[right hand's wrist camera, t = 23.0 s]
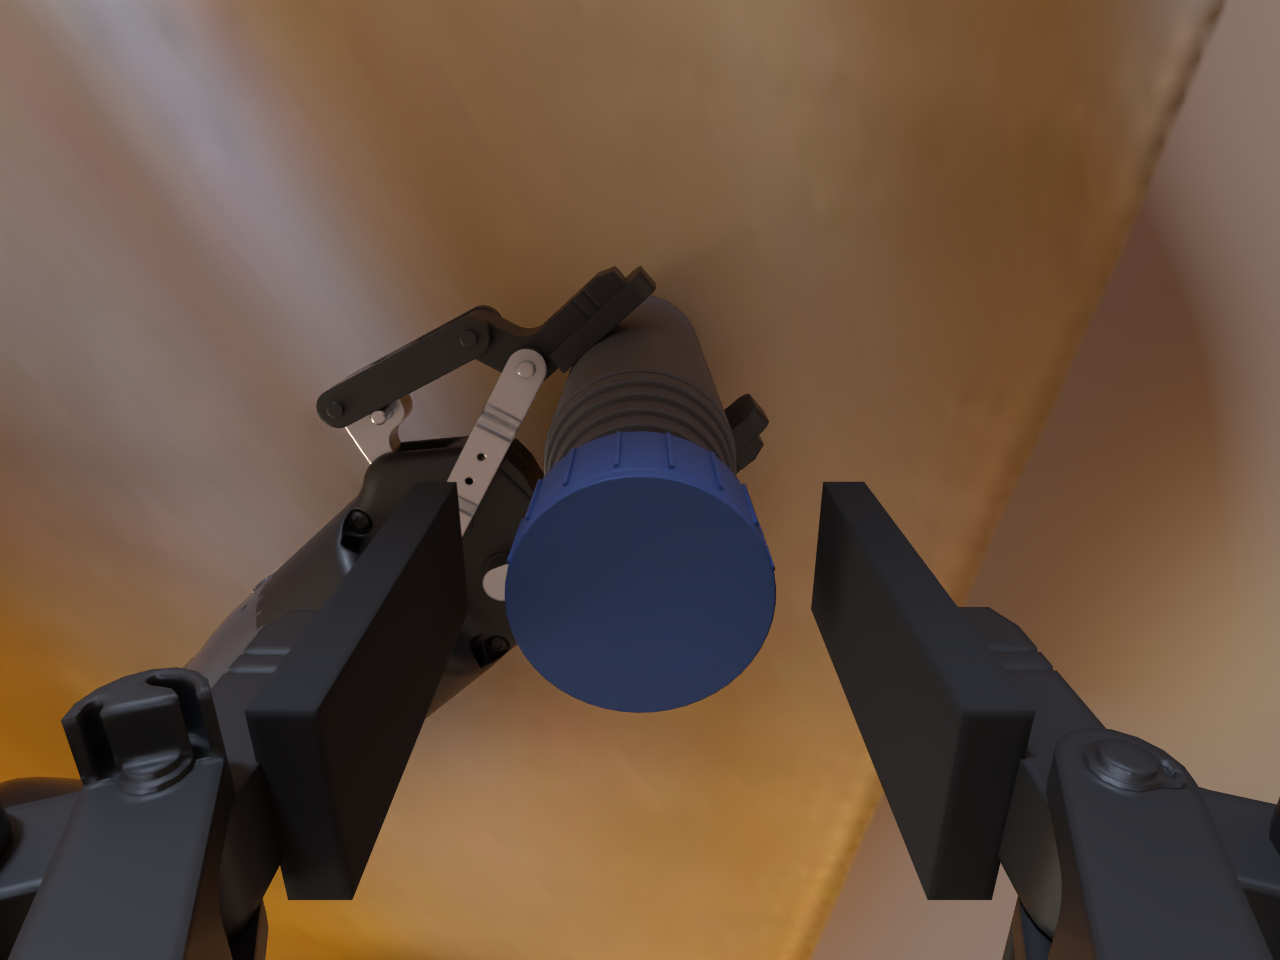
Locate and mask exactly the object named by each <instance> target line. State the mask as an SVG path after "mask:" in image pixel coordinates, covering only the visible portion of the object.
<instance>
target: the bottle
mask: <svg viewBox="0 0 1280 960" xmlns="http://www.w3.org/2000/svg"><path fill="white" fill-rule="evenodd" d="M618 431H621V433H623V432H636V431H647V432H658V433H664V434H666V432H668V433H671V435H673V436H677V437H679V438H682V439H685V440H688V441H691V442H693V443H694V444H696V445H698V446H700V447H702V448H704V449H706V450H707V451H709V452H711V451H713V452H714V453H715V456H716V457H717V458H718V459H720V460H721V461H722V462H723V463H724V464H725V465H726V466H727V467H728V468H729V469H730V470H731V471H732V472H733V474H734V475H735V476H736V448H735V441H734V437H733V434H732V430H731V427H730V425H729V422H728V419H727V417H726V414H725V411H724V409H723V406H722V403H721V401H720V398H719V395H718V392H717V390H716V387H715V384H714V382H713V379H712V376H711V374H710V371H709V368H708V366H707V363H706V360H705V357H704V355H703V352H702V349H701V347H700V344H699V341H698V339H697V336H696V333H695V331H694V329H693V327H692V325H691V323H690V322H689V320H688V319H687V318H686V316H685V315H684V314H683V313H682V312H681V311H680V310H679V309H678V308H676V307H675V306H674V305H672V304H671V303H669V302H667V301H665V300H663V299H660V298H657V297H653V296H649V297H648V298H647V299H646V300H645V301H644V302H642V303H641V304H640V305H639V306H638V307H637V308H636V309H635V310H634V311H632V312H631V313H630V314H629V315H628V316H627V317H626V318H625V319H624V320H622V321H621V322H620V323H619V324H618V325H617V326H616V327H615V328H613V329H612V330H611V331H610V332H609V333H608V334H607V335H606V336H605V337H603V338H602V339H601V340H600V341H599V342H598V343H597V344H596V345H595V346H593V347H592V348H591V349H589V350H588V351H587V352H586V353H585V354H584V355H583V356H582V357H581V358H580V359H579V360H578V361H577V362H576V363H575V364H573V365H572V368H571V370H570V373H569V376H568V379H567V381H566V384H565V387H564V389H563V392H562V395H561V398H560V400H559V403H558V406H557V409H556V411H555V414H554V417H553V419H552V422H551V425H550V428H549V431H548V434H547V437H546V442H545V448H544V477H545V475H546V474H547V473H548V472H549V471H550V469H551V468H552V467H553V466H554V465H555V464H556V463H557V462H558V461H560V460H561V459H562V458H563V457H565V456H566V455H567V454H568V453H570V452H571V449H572V448H574V447H575V448H576V449H577V448H578V447H580V446H582V445H584V444H586V443H588V442H590V441H593V440H595V439H598V438H601V437H605V436H608V435H611V434H616V432H618Z"/></svg>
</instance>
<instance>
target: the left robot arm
mask: <svg viewBox="0 0 1280 960" xmlns="http://www.w3.org/2000/svg"><path fill="white" fill-rule="evenodd" d="M655 289H656V284H655V282H654V281H653V279H652V278H651V277H650V276H649V275H648V274H647V272H646V271H645V270H644V269H643V268H642V267H641V266H639V267H638V268H636V269H635V270H634V271H633V272H632V273H630V274H629V275H628V276H627V277H626V278H625V277H624V275H623V274H622V273H621V272H620V271H619V270H618V268H617V267H616V266H615V267H612V268H609V269H606V270H604V271H601V272H599V273H598V274H597V275H596V276H595V277H593V278H592V279H591V280H590V281H589V282H588V283H587V284H586V285H585V286H584V287H583V288H582V289H581V290H579V291H578V292H577V293H576V294H575V295H574V296H573V297H572V298H571V299H570V300H569V301H568V302H567V303H565V304H564V305H563V306H562V307H561V308H560V309H559V310H558V311H557V312H556V313H555V314H554V315H553V316H551V317H550V318H549V319H548V320H547V321H546V322H545V323H544V324H542V325H541V326H539V327H536V328H522V327H519V326H517V325H515V324H513V323H511V322H509V321H507V320H506V319H504V318H502V317H501V315H500V314H499V312H498V311H497V310H495V309H494V308H492V307H490V306H486V305H481V306H477V307H475V308H473V309H471V310H469V311H467V312H465V313H464V314H462V315H460V316H458V317H456V318H454V319H453V320H451V321H449V322H447V323H445V324H443V325H441V326H440V327H438V328H436V329H434V330H432V331H430V332H429V333H427V334H425V335H423V336H421V337H419V338H417V339H416V340H414V341H412V342H410V343H408V344H406V345H404V346H403V347H401V348H399V349H397V350H395V351H393V352H392V353H390V354H388V355H386V356H384V357H382V358H380V359H379V360H377V361H375V362H373V363H371V364H369V365H368V366H366V367H364V368H362V369H360V370H358V371H356V372H355V373H353V374H351V375H350V376H348V377H347V378H345V379H344V380H342V381H341V382H339V383H338V384H336V385H335V386H333V387H332V388H330V389H329V390H327V391H326V392H324V393H323V394H322V395H321V396H320V397H319V398H318V401H317V412H318V415H319V417H320V418H321V419H322V420H323V422H325V423H326V424H327V425H329V426H331V427H335V428H343V427H345V428H346V430H347V431H348V432H349V434H350V435H351V437H352V438H353V440H354V441H355V443H356V444H357V446H358V447H359V449H360V450H361V451H362V453H363V454H364V456H365V457H366V459H367V460H368V462H369V463H370V466H369V467H368V469H367V471H366V473H365V477H364V482H363V486H362V489H361V491H360V493H359V495H358V496H357V497H356V498H355V499H354V500H353V501H352V502H351V503H349V504H348V505H347V506H346V507H345V508H344V509H343V510H342V511H341V512H340V513H339V514H338V515H337V516H335V517H334V518H333V519H332V520H331V521H330V522H329V523H328V524H327V525H326V526H325V527H324V528H323V529H321V530H320V531H319V532H318V533H317V534H316V535H315V536H314V537H313V538H312V539H311V540H310V541H309V542H307V543H306V544H305V545H304V546H303V547H302V548H301V549H300V550H299V551H298V552H297V553H296V554H295V555H293V556H292V557H291V558H290V559H289V560H288V561H287V562H286V563H285V564H284V565H283V566H282V567H281V568H280V569H279V570H278V571H276V572H275V573H274V574H272V575H270V576H269V577H267V578H266V579H264V580H263V581H262V582H260V583H259V584H258V585H257V586H256V587H255V588H254V589H253V591H252V593H251V595H250V596H249V597H248V598H247V599H246V600H245V601H244V602H243V603H242V604H241V605H239V606H238V607H237V608H236V609H235V610H234V611H233V612H232V613H231V614H230V615H229V616H228V617H227V618H226V619H225V620H224V621H223V622H222V624H221V625H220V626H219V627H218V628H217V629H216V631H215V632H214V633H213V634H212V636H211V637H210V638H209V640H208V641H207V642H206V644H205V645H204V646H203V648H202V649H201V650H200V651H199V652H198V653H197V654H196V655H195V657H193V658H192V659H191V660H190V661H189V662H188V663H187V664H186V665H185V666H184V667H183V669H189V670H195V671H197V672H199V673H200V674H201V675H203V676H204V677H205V678H207V679H208V682H209V686H210V689H211V688H212V687H213V686H214V684H215V683H216V682H217V681H218V680H219V679H220V677H221V676H222V675H223V674H224V673H228V668H229V667H230V666H231V664H232V663H233V662H234V661H235V660H236V659H237V657H238V656H239V655H243V653H244V651H243V650H244V649H245V648H246V647H247V646H248V644H249V643H250V642H251V641H252V640H253V638H254V637H255V636H256V635H257V634H258V633H259V631H260V630H261V629H262V628H263V627H265V626H267V625H268V624H270V623H271V622H273V621H275V620H276V619H278V618H279V617H281V616H282V615H284V614H286V613H287V612H289V611H290V610H320V609H321V608H322V607H323V605H324V604H325V603H326V601H327V600H328V599H329V597H330V596H331V595H332V593H333V592H334V591H335V589H336V588H337V587H338V585H339V584H340V583H341V581H342V580H343V579H344V577H345V576H346V575H347V573H348V572H349V571H350V569H351V568H352V567H353V565H354V564H355V563H356V561H357V560H358V559H359V557H360V556H361V555H362V553H363V552H364V551H365V549H366V548H367V547H368V545H369V544H370V543H371V541H372V540H373V539H374V537H375V536H376V535H377V533H378V532H379V531H380V529H381V528H382V527H383V525H384V524H385V523H386V521H387V520H388V519H389V517H390V516H391V515H392V513H393V512H394V511H395V509H396V508H397V507H398V505H399V504H400V502H401V501H402V500H403V498H404V497H405V496H406V494H407V493H408V492H409V490H410V489H411V488H412V486H413V485H414V484H415V482H457V490H458V501H459V511H460V522H461V533H462V543H463V554H464V564H465V575H466V585H467V596H468V606H469V610H468V613H467V615H466V618H465V620H464V623H463V625H462V627H461V630H460V632H459V635H458V637H457V640H456V642H455V645H454V647H453V650H452V652H451V655H450V657H449V660H448V662H447V665H446V667H445V670H444V672H443V675H442V677H441V680H440V682H439V685H438V687H437V690H436V692H435V695H434V697H433V700H432V702H431V705H430V707H429V710H428V712H427V715H426V717H425V719H426V718H427V717H428V716H429V715H431V714H432V713H433V712H435V711H436V710H437V709H438V708H440V707H441V706H442V705H443V704H445V703H446V702H447V701H448V700H450V699H451V698H452V697H454V696H455V695H456V694H457V693H459V692H460V691H461V690H462V689H464V688H465V687H466V686H467V685H469V684H470V683H471V682H472V681H474V680H475V679H476V678H478V677H479V676H480V675H481V674H483V673H484V672H485V671H486V670H488V669H489V668H490V667H491V666H493V665H494V664H495V663H496V662H497V661H498V660H499V659H500V658H502V657H503V656H504V655H505V654H506V653H507V652H508V651H509V650H510V649H512V648H513V647H515V646H517V645H518V644H517V642H516V640H515V638H514V635H513V633H512V631H511V629H510V625H509V621H508V618H507V614H506V606H505V580H506V574H507V569H508V564H506V563H507V559H508V556H509V553H510V550H511V548H512V545H513V542H514V539H515V536H516V533H517V530H518V528H519V525H520V522H521V519H524V518H525V515H526V513H527V510H528V507H529V504H530V501H531V498H532V496H533V493H534V490H535V487H536V484H537V481H538V480H539V479H543V478H544V473H543V472H542V471H541V469H540V467H539V465H538V464H537V462H536V460H535V458H534V457H533V455H532V454H531V453H530V452H529V451H528V450H527V448H526V447H525V446H524V445H523V444H522V443H521V442H520V441H519V440H518V439H517V438H516V439H514V437H515V435H516V433H517V431H518V429H519V427H520V425H521V423H522V421H523V419H524V417H525V415H526V413H527V411H528V410H529V408H530V406H531V404H532V402H533V400H534V398H535V396H536V394H537V392H538V390H539V388H540V387H541V385H542V383H543V381H545V380H546V379H547V378H548V377H549V376H550V375H551V374H552V373H553V372H555V371H556V370H557V369H558V368H559V369H560V370H561V371H562V372H563V373H565V372H566V371H567V370H568V369H569V368H570V367H571V366H572V365H573V364H575V363H576V362H577V361H578V360H579V359H580V358H581V357H582V356H583V355H584V354H585V353H586V352H587V351H588V350H589V349H591V348H592V347H593V346H595V345H596V344H597V343H598V342H599V341H600V340H601V339H602V338H603V337H605V336H606V335H607V334H608V333H609V332H610V331H611V330H612V329H613V328H615V327H616V326H617V325H618V324H619V323H620V322H621V321H622V320H624V319H625V318H626V317H627V316H628V315H629V314H630V313H631V312H632V311H634V310H635V309H636V308H637V307H638V306H639V305H640V304H641V303H642V302H644V301H645V300H646V299H647V298H648V297H649V296H650V295H651V294H652V293H653V292H654V290H655ZM474 359H476V360H478V361H480V362H482V363H484V364H486V365H488V366H490V367H492V368H494V369H496V370H498V371H500V372H502V373H501V375H500V377H499V379H498V381H497V383H496V385H495V387H494V389H493V391H492V393H491V395H490V397H489V400H488V402H487V403H486V405H485V407H484V409H483V411H482V413H481V414H480V416H479V418H478V420H477V422H476V424H475V426H474V428H473V430H472V432H471V434H470V436H462V437H451V438H440V439H430V440H419V441H408V442H400V440H399V437H398V427H399V425H400V424H401V423H402V422H403V421H404V420H405V419H406V418H407V417H408V415H409V414H410V413H411V410H412V400H411V397H410V395H409V393H411V392H413V391H415V390H417V389H419V388H421V387H423V386H424V385H426V384H428V383H430V382H432V381H434V380H436V379H438V378H440V377H441V376H443V375H445V374H447V373H449V372H451V371H453V370H455V369H457V368H459V367H460V366H462V365H464V364H466V363H468V362H470V361H472V360H474ZM724 411H725V414H726V417H727V419H728V422H729V425H730V427H731V430H732V434H733V437H734V441H735V448H736V474H737V473H738V472H739V471H740V470H741V469H743V468H744V467H746V466H747V465H748V464H749V463H751V462H752V461H753V460H754V459H755V458H756V457H757V455H758V453H759V452H760V450H761V448H762V447H763V445H764V444H763V442H762V440H761V438H760V436H759V434H760V433H761V432H763V430H764V429H765V428H766V427H767V425H768V423H769V420H768V418H767V417H766V415H765V413H764V411H763V409H762V408H761V407H760V406H759V405H758V403H757V402H756V401H755V400H754V399H753V398H752V396H751V395H750V394H746V395H743V396H742V397H740V398H739V399H737V400H736V401H735V402H734V403H732V404H731V405H730V406H729V407H727V408H726V409H725V410H724ZM513 439H514V440H513ZM82 787H83V783H82V780H81V779H69V778H53V777H29V778H17V779H12V780H8V781H5V782H2V783H0V798H1V801H2V803H3V806H4V808H6V807H10V806H15V805H19V804H24V803H29V802H33V801H38V800H42V799H47V798H51V797H56V796H61V795H65V794H70V793H74V792H77V791H81V789H82Z"/></svg>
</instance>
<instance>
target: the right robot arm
mask: <svg viewBox="0 0 1280 960" xmlns="http://www.w3.org/2000/svg"><path fill="white" fill-rule="evenodd" d="M468 610H469V606H468V596H467V585H466V575H465V564H464V554H463V543H462V533H461V522H460V511H459V501H458V490H457V482H415V484H414V485H413V486H412V488H411V489H410V490H409V492H408V493H407V494H406V496H405V497H404V498H403V500H402V501H401V502H400V504H399V505H398V507H397V508H396V509H395V511H394V512H393V513H392V515H391V516H390V517H389V519H388V520H387V521H386V523H385V524H384V525H383V527H382V528H381V529H380V531H379V532H378V533H377V535H376V536H375V537H374V539H373V540H372V541H371V543H370V544H369V545H368V547H367V548H366V549H365V551H364V552H363V553H362V555H361V556H360V557H359V559H358V560H357V561H356V563H355V564H354V565H353V567H352V568H351V569H350V571H349V572H348V573H347V575H346V576H345V577H344V579H343V580H342V581H341V583H340V584H339V585H338V587H337V588H336V589H335V591H334V592H333V593H332V595H331V596H330V597H329V599H328V600H327V601H326V603H325V604H324V605H323V607H322V608H321V609H320V610H290V611H289V612H287V613H286V614H284V615H282V616H281V617H279V618H278V619H276V620H275V621H273V622H271V623H270V624H268V625H267V626H265V627H263V628H262V629H261V630H260V631H259V633H258V634H257V635H256V636H255V637H254V638H253V640H252V641H251V642H250V643H249V644H248V646H247V647H246V648H245V649H244V650H243V651H244V653H243V655H239V656H238V657H237V659H236V660H235V661H234V662H233V663H232V664H231V666H230V667H229V668H228V673H224V674H223V675H222V676H221V677H220V679H219V680H218V681H217V682H216V683H215V684H214V686H213V687H212V688H211V689H210V686H209V682H208V679H207V678H205V677H204V676H203V675H201V674H200V673H199V672H197V671H195V670H189V669H183V668H177V667H176V668H164V669H152V670H148V671H144V672H140V673H137V674H133V675H129V676H125V677H122V678H120V679H118V680H116V681H113V682H111V683H109V684H107V685H104V686H102V687H100V688H98V689H96V690H95V691H93V692H92V693H90V694H89V695H87V696H86V697H84V698H83V699H81V700H80V701H78V702H77V703H75V704H74V705H73V707H72V708H71V709H70V710H69V711H68V713H67V714H66V715H65V716H64V717H63V718H62V720H61V722H62V725H63V728H64V731H65V733H66V736H67V739H68V742H69V745H70V748H71V751H72V754H73V757H74V760H75V763H76V766H77V769H78V771H79V774H80V777H81V780H82V783H83V787H82V789H81V791H77V792H74V793H70V794H65V795H61V796H56V797H51V798H47V799H42V800H38V801H33V802H29V803H24V804H19V805H15V806H10V807H6V808H4V806H3V803H2V801H1V798H0V960H265V956H266V946H267V937H268V922H267V916H266V910H265V906H264V902H263V896H264V894H265V892H266V890H267V889H268V887H269V885H270V883H271V881H272V879H273V877H274V875H275V873H276V871H277V870H278V868H279V866H281V871H282V875H283V879H284V884H285V888H286V892H287V896H288V900H352V899H353V897H354V894H355V892H356V889H357V887H358V884H359V882H360V879H361V877H362V874H363V872H364V869H365V867H366V864H367V862H368V859H369V857H370V854H371V852H372V849H373V847H374V844H375V842H376V839H377V837H378V834H379V832H380V829H381V827H382V824H383V822H384V819H385V817H386V815H387V812H388V810H389V807H390V805H391V802H392V800H393V797H394V795H395V792H396V790H397V787H398V785H399V782H400V780H401V777H402V775H403V772H404V770H405V767H406V765H407V762H408V760H409V757H410V755H411V752H412V750H413V747H414V745H415V742H416V740H417V737H418V735H419V732H420V730H421V727H422V725H423V722H424V720H425V717H426V715H427V712H428V710H429V707H430V705H431V702H432V700H433V697H434V695H435V692H436V690H437V687H438V685H439V682H440V680H441V677H442V675H443V672H444V670H445V667H446V665H447V662H448V660H449V657H450V655H451V652H452V650H453V647H454V645H455V642H456V640H457V637H458V635H459V632H460V630H461V627H462V625H463V623H464V620H465V618H466V615H467V613H468ZM811 610H812V613H813V615H814V618H815V620H816V623H817V625H818V627H819V630H820V632H821V635H822V637H823V640H824V642H825V645H826V647H827V650H828V652H829V655H830V657H831V660H832V662H833V665H834V667H835V670H836V672H837V675H838V677H839V680H840V682H841V685H842V687H843V690H844V692H845V695H846V697H847V700H848V702H849V705H850V707H851V710H852V712H853V715H854V717H855V720H856V722H857V725H858V727H859V730H860V732H861V735H862V737H863V740H864V742H865V745H866V747H867V750H868V752H869V755H870V757H871V760H872V762H873V765H874V767H875V770H876V772H877V775H878V777H879V780H880V782H881V785H882V787H883V790H884V792H885V795H886V797H887V800H888V802H889V805H890V807H891V810H892V812H893V815H894V817H895V819H896V822H897V824H898V827H899V829H900V832H901V834H902V837H903V839H904V842H905V844H906V847H907V849H908V852H909V854H910V857H911V859H912V862H913V864H914V867H915V869H916V872H917V874H918V877H919V879H920V882H921V884H922V887H923V889H924V892H925V894H926V897H927V899H928V900H992V896H993V892H994V888H995V884H996V879H997V875H998V870H999V866H1000V862H1001V864H1002V866H1003V868H1004V870H1005V871H1006V873H1007V875H1008V877H1009V879H1010V881H1011V883H1012V885H1013V886H1014V888H1015V890H1016V892H1017V894H1018V898H1017V902H1016V906H1015V910H1014V914H1013V918H1012V922H1011V926H1010V930H1009V935H1008V938H1007V942H1006V946H1005V950H1004V954H1003V959H1002V960H1280V798H1279V801H1278V803H1277V805H1276V804H1272V803H1267V802H1262V801H1258V800H1253V799H1248V798H1244V797H1239V796H1234V795H1230V794H1225V793H1221V792H1216V791H1211V790H1208V789H1204V788H1201V787H1198V785H1197V784H1196V782H1195V781H1194V779H1193V778H1192V777H1191V775H1190V774H1189V772H1188V771H1187V770H1186V768H1185V767H1184V766H1183V765H1182V764H1180V763H1179V762H1178V761H1176V760H1175V759H1174V758H1173V757H1171V756H1170V755H1169V754H1167V753H1166V752H1165V751H1164V750H1162V749H1160V748H1158V747H1156V746H1154V745H1152V744H1150V743H1148V742H1146V741H1144V740H1142V739H1140V738H1138V737H1135V736H1132V735H1128V734H1125V733H1121V732H1118V731H1115V730H1111V729H1106V728H1105V727H1104V726H1103V724H1102V723H1101V722H1100V721H1099V720H1098V719H1097V717H1096V716H1095V715H1094V714H1093V713H1092V712H1091V710H1090V709H1089V708H1088V707H1087V706H1086V704H1085V703H1084V702H1083V701H1082V700H1081V699H1080V697H1079V696H1078V695H1077V694H1076V693H1075V692H1074V690H1073V689H1072V688H1071V687H1070V686H1069V685H1068V683H1067V682H1066V681H1065V680H1064V679H1063V678H1062V676H1061V675H1060V674H1059V673H1058V672H1057V671H1053V668H1052V667H1053V666H1052V665H1051V663H1050V662H1049V661H1048V660H1047V659H1046V658H1045V656H1044V655H1043V654H1042V653H1041V652H1037V647H1036V646H1035V645H1034V644H1033V642H1032V641H1031V640H1030V639H1029V638H1028V636H1027V635H1026V634H1025V633H1024V632H1023V631H1022V629H1021V628H1020V627H1019V626H1018V625H1016V624H1015V623H1013V622H1011V621H1010V620H1008V619H1007V618H1005V617H1003V616H1002V615H1000V614H999V613H997V612H996V611H994V610H992V609H991V608H989V607H957V605H956V604H955V603H954V601H953V600H952V599H951V597H950V596H949V595H948V593H947V592H946V591H945V589H944V588H943V587H942V585H941V584H940V583H939V581H938V580H937V579H936V577H935V576H934V575H933V573H932V572H931V571H930V569H929V568H928V567H927V565H926V564H925V563H924V561H923V560H922V559H921V557H920V556H919V555H918V553H917V552H916V551H915V549H914V548H913V547H912V545H911V544H910V543H909V541H908V540H907V539H906V537H905V536H904V535H903V533H902V532H901V531H900V529H899V528H898V527H897V525H896V524H895V523H894V521H893V520H892V519H891V517H890V516H889V515H888V513H887V512H886V511H885V509H884V508H883V507H882V505H881V504H880V502H879V501H878V500H877V498H876V497H875V496H874V494H873V493H872V492H871V490H870V489H869V488H868V486H867V485H866V484H865V482H823V490H822V501H821V511H820V522H819V532H818V543H817V554H816V564H815V575H814V585H813V596H812V606H811Z"/></svg>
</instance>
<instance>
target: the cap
mask: <svg viewBox="0 0 1280 960" xmlns="http://www.w3.org/2000/svg"><path fill="white" fill-rule="evenodd" d="M506 564H508V569H507V574H506V580H505V606H506V614H507V618H508V621H509V625H510V629H511V631H512V633H513V635H514V638H515V640H516V642H517V644H518V646H519V647H520V649H521V651H522V652H523V654H524V656H525V657H526V658H527V660H528V661H529V662H530V663H531V665H532V666H533V667H534V668H535V669H536V670H537V671H538V672H539V673H540V674H541V675H542V676H543V677H544V678H545V679H546V680H548V681H549V682H550V683H552V684H553V685H554V686H556V687H557V688H558V689H560V690H562V691H563V692H565V693H567V694H569V695H570V696H572V697H574V698H576V699H579V700H581V701H583V702H586V703H588V704H591V705H594V706H598V707H601V708H605V709H610V710H615V711H622V712H635V713H642V712H658V711H665V710H671V709H675V708H679V707H683V706H687V705H689V704H692V703H695V702H697V701H700V700H702V699H704V698H706V697H708V696H710V695H712V694H714V693H716V692H717V691H719V690H720V689H722V688H723V687H725V686H726V685H728V684H729V683H730V682H732V681H733V680H734V679H735V678H736V677H737V676H739V675H740V674H741V673H742V672H743V671H744V670H745V668H746V667H747V666H748V665H749V664H750V663H751V662H752V660H753V659H754V658H755V656H756V655H757V653H758V652H759V650H760V649H761V647H762V645H763V643H764V641H765V639H766V637H767V635H768V632H769V629H770V626H771V623H772V620H773V616H774V610H775V605H776V584H775V576H774V571H775V566H774V564H773V561H772V558H771V555H770V552H769V549H768V546H767V544H766V541H765V538H764V535H763V532H762V529H761V527H760V524H759V522H758V519H757V516H756V513H755V510H754V507H753V505H752V502H751V499H750V496H749V493H748V490H747V487H746V485H745V484H742V485H741V483H740V481H739V480H738V478H737V477H736V476H735V475H734V474H733V472H732V471H731V470H730V469H729V468H728V467H727V466H726V465H725V464H724V463H723V462H722V461H721V460H720V459H718V458H717V457H716V456H715V453H714V452H713V451H711V452H709V451H707V450H706V449H704V448H702V447H700V446H698V445H696V444H694V443H693V442H691V441H688V440H685V439H682V438H679V437H677V436H673V435H671V433H668V432H666V434H664V433H658V432H647V431H636V432H623V433H621V431H618V432H616V434H611V435H608V436H605V437H601V438H598V439H595V440H593V441H590V442H588V443H586V444H584V445H582V446H580V447H578V448H577V449H576V448H575V447H574V448H572V449H571V452H570V453H568V454H567V455H566V456H565V457H563V458H562V459H561V460H560V461H558V462H557V463H556V464H555V465H554V466H553V467H552V468H551V469H550V471H549V472H548V473H547V474H546V475H545V477H544V478H543V479H539V480H538V481H537V484H536V487H535V490H534V493H533V496H532V498H531V501H530V504H529V507H528V510H527V513H526V515H525V518H524V519H521V522H520V525H519V528H518V530H517V533H516V536H515V539H514V542H513V545H512V548H511V550H510V553H509V556H508V559H507V563H506Z"/></svg>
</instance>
